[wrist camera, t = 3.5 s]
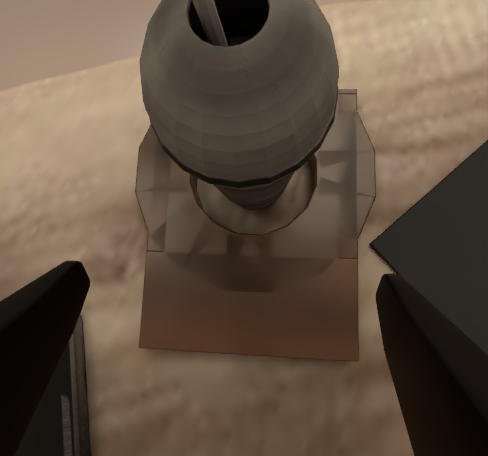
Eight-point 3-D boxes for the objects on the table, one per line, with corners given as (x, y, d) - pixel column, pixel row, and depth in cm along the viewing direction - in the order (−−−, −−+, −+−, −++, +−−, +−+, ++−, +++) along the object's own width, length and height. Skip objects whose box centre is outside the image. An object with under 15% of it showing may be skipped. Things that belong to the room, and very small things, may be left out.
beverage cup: (285, 241, 22) (420, 36, 3) (192, 210, 23) (-239, -123, 3) (315, 149, 23) (602, -559, 3) (224, 122, 24) (19, -574, 4)
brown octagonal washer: (367, 354, 21) (378, 363, 19) (134, 340, 22) (121, 346, 20) (365, 77, 24) (374, 59, 22) (155, 79, 25) (146, 62, 23)
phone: (-31, 560, 20) (-34, 322, 22) (-16, 545, 21) (-19, 319, 23) (86, 550, 20) (73, 308, 22) (96, 535, 21) (82, 306, 23)
